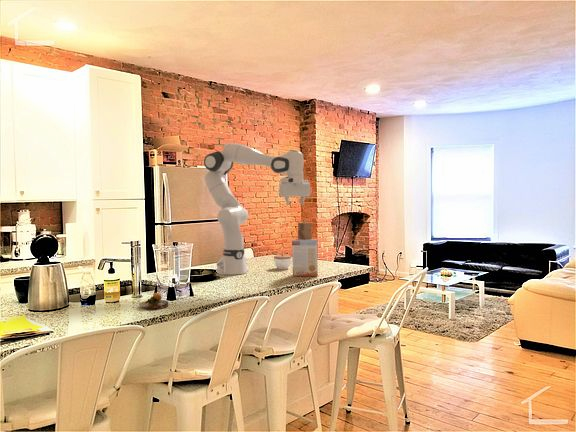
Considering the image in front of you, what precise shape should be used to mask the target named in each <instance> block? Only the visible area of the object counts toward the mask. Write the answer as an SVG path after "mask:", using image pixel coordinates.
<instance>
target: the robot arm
mask: <svg viewBox="0 0 576 432" xmlns="http://www.w3.org/2000/svg"><path fill="white" fill-rule="evenodd" d="M234 163H235V164H240V165H244V166H265V167H269V168H271V170H272V171H273V172H274V173H276V174H277V175H278V174H280V175H285V177H282V178H280V179H279V183H280V184H279V185H278V187H279V188H278V196H280V197H284V200H285V201H286V206H291V201H290V200H289V199H290V197H300V199H301V200H300V201H299V205H300V206H301V205H304V204H305V200H306V197H310V196H311V195H312V193H311V191H312V190H311V183H310V181H309V180H308V179H304V163H305V162H304V155H303V153H302V152H301V151H299V150H294V149H293V150H292V149H291V150H287V152H286V153H283V154H282V155H279V156H272V155H269V154H265V153H263V152H261V151H258V150H257V149H254V148H253V147H251V146H248V145H245V144H241V143H237V142H236V143H235V142H227V143H226V144H225V145H224V146H223V147H222V150H221V151H219V150H217V151H214V152H210V153H208V154H207V155H206V156H205V157H204V159H203V164H204V167H205V168H206V169H207V170H208V171H207V172H206V174H205V175H204V181H205V184H206V187H207V189H208V191H209V194H210V195H211V197H212V199H213V201H214V202H215V204H216V205H217V206H219V207H220V208H221V210H219V211H218V213H217V222H218V223H219V224H220V227H221V228H222V229H221V230H222V232H223V238H224V239H223V241H224V249H223V250H222V256H221V258H220V259H218V261H217V262H216V268H215V269H213V270H216V272H217V274H218V275H221V276H223V275H225V276H226V275H231V276H233V275H234V276H235V275H243V274H246V273H247V272H249V268H247V258H246V257H245V248H244V235H243V233H242V231H241V228H240V225H242V224H245V222H247V220H248V219H249V211H248V210H247V209H246V208H245V207H244V206H243V205H242V204H241V203H240V201H238V200H237V198H236V197H235V195H234V194H233V192H232V191H231V189H230V188H229V185H228V184H227V182H226V180H225V178H224V176H226V175H227V174H228V173H229V171H231V169H233V167H234ZM286 175H287V176H286ZM216 272H215V273H216Z"/></svg>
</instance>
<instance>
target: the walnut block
mask: <svg viewBox="0 0 576 432" xmlns="http://www.w3.org/2000/svg"><path fill="white" fill-rule="evenodd" d="M312 225H313V223H312V222H305V221H304V222H297V239H313V238H312V237H313V236H312V235H313V234H312V233H313V230H312V229H313V228H312V227H313V226H312Z"/></svg>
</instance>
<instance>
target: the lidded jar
mask: <svg viewBox="0 0 576 432" xmlns="http://www.w3.org/2000/svg"><path fill="white" fill-rule="evenodd" d="M273 261H274V266H275V267H276V268H277V269H278V270H287V269H289V267H290V266H291V263H292V255H290V254H289V255H288V254H284V252H282V253H281V254H277V255H274V256H273Z"/></svg>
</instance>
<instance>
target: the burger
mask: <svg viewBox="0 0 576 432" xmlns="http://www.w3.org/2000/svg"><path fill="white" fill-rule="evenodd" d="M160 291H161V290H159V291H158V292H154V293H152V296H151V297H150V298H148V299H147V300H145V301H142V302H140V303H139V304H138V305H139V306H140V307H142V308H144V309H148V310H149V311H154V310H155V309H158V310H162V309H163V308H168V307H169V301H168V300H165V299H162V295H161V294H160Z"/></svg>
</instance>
